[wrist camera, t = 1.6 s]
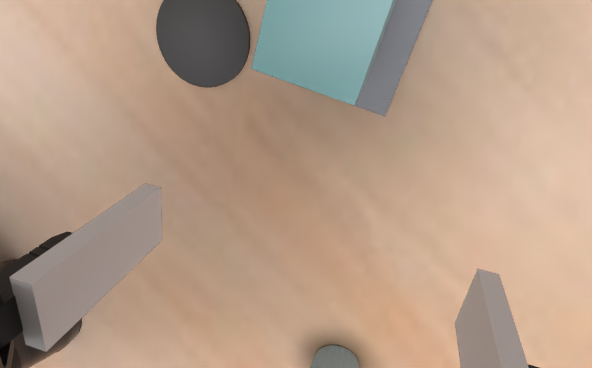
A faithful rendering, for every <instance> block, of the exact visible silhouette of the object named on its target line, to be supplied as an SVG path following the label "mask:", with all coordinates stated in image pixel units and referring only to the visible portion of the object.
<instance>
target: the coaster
mask: <svg viewBox="0 0 592 368" xmlns="http://www.w3.org/2000/svg"><path fill="white" fill-rule="evenodd" d="M156 32H157V40H158V44H159V48H160V50H161V53H162V55H163V57H164V59H165V61H166V62H167V64H168V65H169V67H170V68H171V69H172V70H173V71H174V72H175V73H176V74H177V75H178V76H179V77H180V78H182V79H183V80H185V81H186V82H188V83H190V84H193V85H196V86H199V87H216V86H219V85H222V84H224V83H227V82H229V81H230V80H232V79H233V78H234V77H235V76H236V75H238V73H239V72H240V71H241V70H242V68H243V66H244V65H245V62H246V60H247V57H248V54H249V48H250V32H249V27H248V23H247V20H246V17H245V15H244V13H243V11H242V9H241V8H240V6H239V4H238V3H237V2H236V1H235V0H164V1H163V3H162V5H161V7H160V9H159V13H158V17H157V25H156Z"/></svg>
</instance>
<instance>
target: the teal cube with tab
mask: <svg viewBox="0 0 592 368" xmlns="http://www.w3.org/2000/svg"><path fill="white" fill-rule="evenodd" d="M395 2H396V0H267V2H266V7H265V11H264V15H263V20H262V24H261V29H260V33H259V37H258V42H257V46H256V51H255V55H254V59H253V64H252V68H251V69H253V70H256V71H258V72H261V73H264V74H267V75H270V76H272V77H275V78H278V79H281V80H284V81H286V82H289V83H292V84H295V85H298V86H300V87H303V88H306V89H309V90H312V91H314V92H317V93H320V94H323V95H326V96H329V97H331V98H334V99H337V100H340V101H343V102H345V103H348V104H351V105H355V103H356V101H357V99H358V97H359V95H360V93H361V92H362V90H363V88H364V86H365V83H366V80H367V78H368V75H369V72H370V70H371V67H372V64H373V61H374V59H375V56H376V53H377V51H378V48H379V45H380V42H381V40H382V37H383V34H384V32H385V29H386V26H387V24H388V21H389V18H390V15H391V13H392V10H393V7H394V5H395Z"/></svg>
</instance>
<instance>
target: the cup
mask: <svg viewBox="0 0 592 368" xmlns="http://www.w3.org/2000/svg"><path fill="white" fill-rule="evenodd" d="M310 368H359V362H358V360H357V358H356V356H355V355H354V354H353V353H352V352H351V351H349V350H348V349H346V348H344V347H341V346H336V345H328V346H325V347H322V348H321V349H319V350H318V351H317V353H316V355H315V357H314V359H313V362H312V364H311V367H310Z"/></svg>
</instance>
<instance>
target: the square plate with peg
mask: <svg viewBox="0 0 592 368" xmlns="http://www.w3.org/2000/svg"><path fill="white" fill-rule="evenodd" d="M431 3H432V0H396V2H395V5H394V7H393V10H392V13H391V15H390V18H389V21H388V24H387V26H386V29H385V32H384V34H383V37H382V40H381V42H380V45H379V48H378V51H377V53H376V56H375V59H374V61H373V64H372V67H371V70H370V72H369V75H368V78H367V80H366V83H365V86H364V88H363V90H362V92H361V93H360V95H359V97H358V99H357V101H356V103H355V106H357V107H360V108H363V109H366V110H369V111H371V112H374V113H377V114H380V115H383V116H385V115H386V113H387V110H388V108H389V105H390V103H391V100H392V98H393V95H394V93H395V91H396V88H397V86H398V83H399V81H400V78H401V76H402V73H403V71H404V69H405V66H406V64H407V61H408V59H409V56H410V54H411V52H412V49H413V47H414V44H415V42H416V39H417V37H418V34H419V32H420V30H421V27H422V25H423V22H424V20H425V17H426V15H427V12H428V10H429V8H430V5H431Z"/></svg>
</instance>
